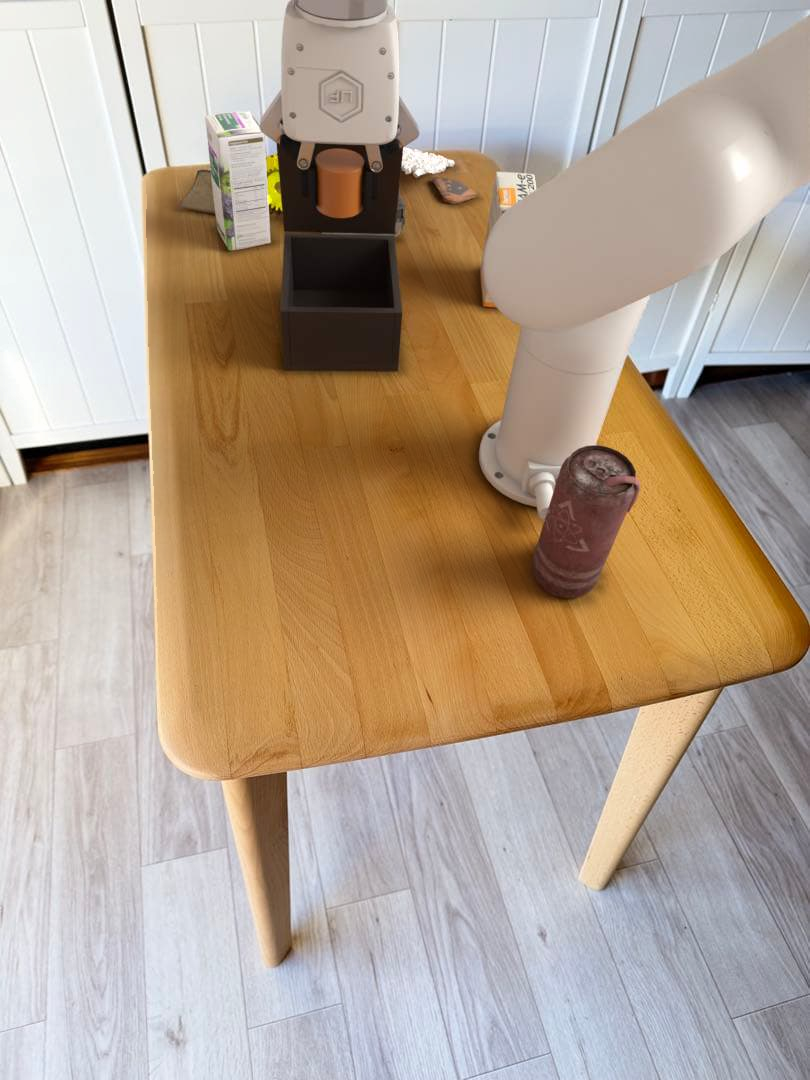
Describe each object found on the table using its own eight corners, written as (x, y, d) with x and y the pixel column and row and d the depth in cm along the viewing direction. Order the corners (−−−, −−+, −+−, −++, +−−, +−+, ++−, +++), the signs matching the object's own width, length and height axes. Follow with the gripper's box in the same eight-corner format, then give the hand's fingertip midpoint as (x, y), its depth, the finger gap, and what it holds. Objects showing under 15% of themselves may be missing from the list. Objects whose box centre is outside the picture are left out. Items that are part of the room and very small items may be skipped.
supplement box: (521, 310, 99) (542, 210, 89) (481, 308, 99) (498, 206, 89) (516, 271, 104) (536, 172, 94) (479, 269, 104) (494, 169, 94)
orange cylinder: (363, 219, 78) (365, 173, 75) (315, 217, 78) (315, 172, 74) (362, 193, 81) (363, 149, 78) (315, 192, 81) (315, 147, 77)
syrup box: (215, 229, 106) (201, 114, 95) (259, 221, 108) (250, 108, 97) (229, 252, 103) (215, 137, 92) (273, 244, 105) (265, 129, 93)
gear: (287, 135, 104) (243, 173, 108) (281, 142, 102) (236, 181, 105) (327, 188, 108) (283, 223, 112) (322, 197, 105) (277, 232, 109)
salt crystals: (458, 169, 121) (460, 158, 120) (420, 184, 104) (423, 170, 104) (334, 136, 124) (335, 124, 123) (279, 145, 107) (280, 132, 107)
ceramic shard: (257, 176, 107) (253, 173, 106) (252, 219, 108) (249, 217, 107) (187, 166, 108) (182, 163, 106) (183, 209, 109) (178, 207, 108)
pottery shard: (479, 192, 114) (447, 195, 112) (477, 202, 115) (446, 205, 113) (458, 171, 118) (427, 173, 116) (457, 180, 119) (426, 183, 117)
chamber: (398, 371, 91) (402, 312, 85) (284, 370, 90) (280, 311, 83) (391, 293, 100) (394, 235, 94) (287, 291, 99) (284, 232, 92)
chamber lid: (405, 124, 79) (403, 84, 80) (274, 120, 78) (275, 79, 79) (394, 234, 93) (393, 198, 95) (283, 231, 92) (284, 195, 94)
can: (597, 607, 72) (643, 505, 61) (527, 593, 73) (560, 489, 62) (601, 555, 76) (645, 449, 65) (534, 541, 77) (566, 435, 66)
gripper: (230, 1, 62) (249, 222, 76) (450, 13, 64) (428, 227, 78) (236, -34, 67) (253, 181, 81) (441, -22, 68) (422, 186, 82)
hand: (339, 202), depth 79 cm, fingers closed on orange cylinder, 4 cm apart
